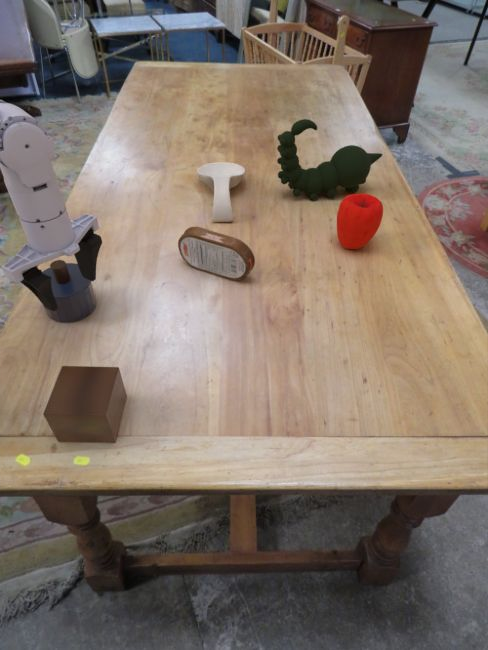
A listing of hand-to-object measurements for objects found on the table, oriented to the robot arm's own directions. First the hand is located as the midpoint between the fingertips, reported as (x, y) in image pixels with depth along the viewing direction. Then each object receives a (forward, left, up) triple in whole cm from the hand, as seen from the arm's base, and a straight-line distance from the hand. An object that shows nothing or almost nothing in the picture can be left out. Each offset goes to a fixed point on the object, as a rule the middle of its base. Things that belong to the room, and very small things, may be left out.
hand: (70, 292), depth 64 cm
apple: (+48, +28, -10) cm, 56 cm away
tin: (+20, +18, -10) cm, 28 cm away
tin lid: (-4, +7, -4) cm, 9 cm away
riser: (+5, -15, -9) cm, 19 cm away
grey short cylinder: (-4, +7, -9) cm, 13 cm away
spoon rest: (+20, +47, -10) cm, 52 cm away
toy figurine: (+45, +50, -10) cm, 68 cm away
